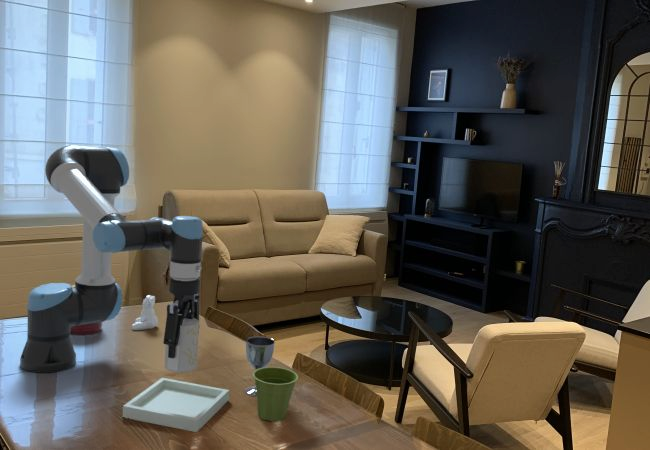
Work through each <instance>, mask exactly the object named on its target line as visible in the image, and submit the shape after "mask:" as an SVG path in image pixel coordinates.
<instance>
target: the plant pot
mask: <svg viewBox="0 0 650 450" xmlns="http://www.w3.org/2000/svg"><path fill="white" fill-rule="evenodd" d="M252 377H253V379H254V382H255V383H254V384H255V385H254V386H256V392H257V397H256V402H257V403H256V404H257V405H256V406H257V415H258V417H259V418H260V419H261V420H264V421H271V422H279V421H283V420H284V419H285V418H286V416H287V412H288V408H289V405H290V400H291V397H292V393H293V390H294V388H295V386H296V385H295V384H296V382H297V381H298V380H299V375H298V374H297V373H296V372H295V371H294V370H291V369H288V368H285V367H279V366H265V367H264V368H259V369H257V370H255V369H254V370H253V372H252Z"/></svg>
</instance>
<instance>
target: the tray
mask: <svg viewBox="0 0 650 450" xmlns="http://www.w3.org/2000/svg"><path fill="white" fill-rule="evenodd" d="M229 394H230V390H229V389H226V388H221V387H220V388H219V387H214V386H208V385H204V384H200V383H199V384H198V383H194V382H193V383H192V382H187V381H182V380H181V381H180V380H178V379H177V380H176V379H171V378H165V377H161V378H160V379H158V380H157V381H155V382H154V383H153V384H151V385H150V386H148V387H147V388H146V389H144V390H143V391H141V393H139V394H138V395H136V396H135V397H133V398H132V399H131V400H129V401H128V402H126V403H125V404H123V405H122V418H123V417H125V418H124V419H128V418H129V420H134V421H137V422H144V423H149V424H154V425H159V426H164V427H169V428H174V429H178V430H184V431H189V432H193V433H198V432H199V431H200V430H201V428H202V427H204V425H206V423H208V421H210V419H212V417H213V416H215V414H217V413H218V411H220V409H222V407H224V405H226V404H227V403H228V402H229V396H230V395H229Z"/></svg>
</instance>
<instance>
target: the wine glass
mask: <svg viewBox="0 0 650 450" xmlns="http://www.w3.org/2000/svg"><path fill="white" fill-rule="evenodd" d="M275 343H276V342H275V340H274V339H273V338H271V337H267V336H260V335H259V336H256V335H255V336H249V337H248V338H247V339H246V342H245V352H246V359H247V362H248V363H249V364H250V366H251V367H252V368H253V369H254V371H255V370H257V369H259V368H264V367H267V366H268V365H269V364H270V363H271V361H272V359H273V356H274V351H275ZM243 391H244V393H245V394H246V395H247V396H251V397H254V398H255V397H256V398H257V392H256V385H252V386H249V387H246V388H245V389H244V390H243Z"/></svg>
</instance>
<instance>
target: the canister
mask: <svg viewBox="0 0 650 450" xmlns="http://www.w3.org/2000/svg"><path fill="white" fill-rule="evenodd" d="M71 287H75V284H72V285H71ZM102 327H103V322H97V323H90V324H84V325H78V326H72V327H71V330H70V335H75V336H85V335H93V334H96V333H98V332H101V330H102V329H103V328H102Z"/></svg>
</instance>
